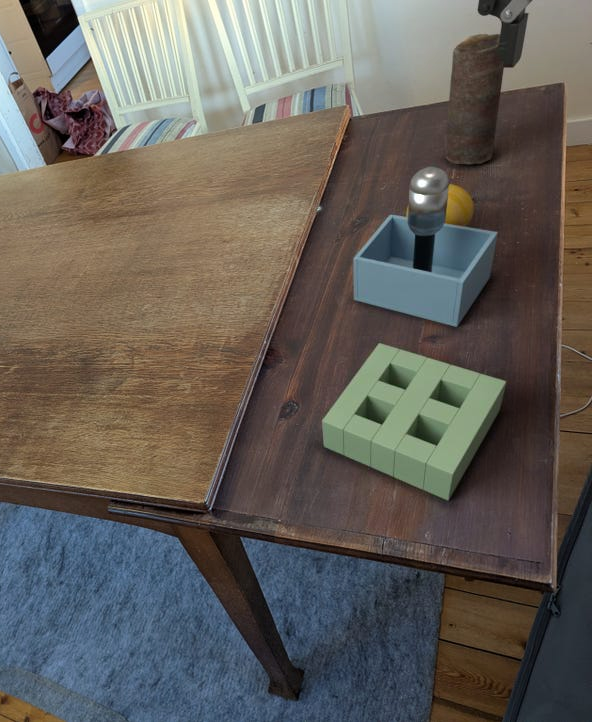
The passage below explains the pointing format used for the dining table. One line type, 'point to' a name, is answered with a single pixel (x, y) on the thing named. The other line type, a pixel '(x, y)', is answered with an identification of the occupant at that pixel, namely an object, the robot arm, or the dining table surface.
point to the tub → (421, 288)
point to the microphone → (427, 212)
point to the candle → (473, 100)
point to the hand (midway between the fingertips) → (569, 64)
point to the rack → (414, 418)
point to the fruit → (458, 207)
